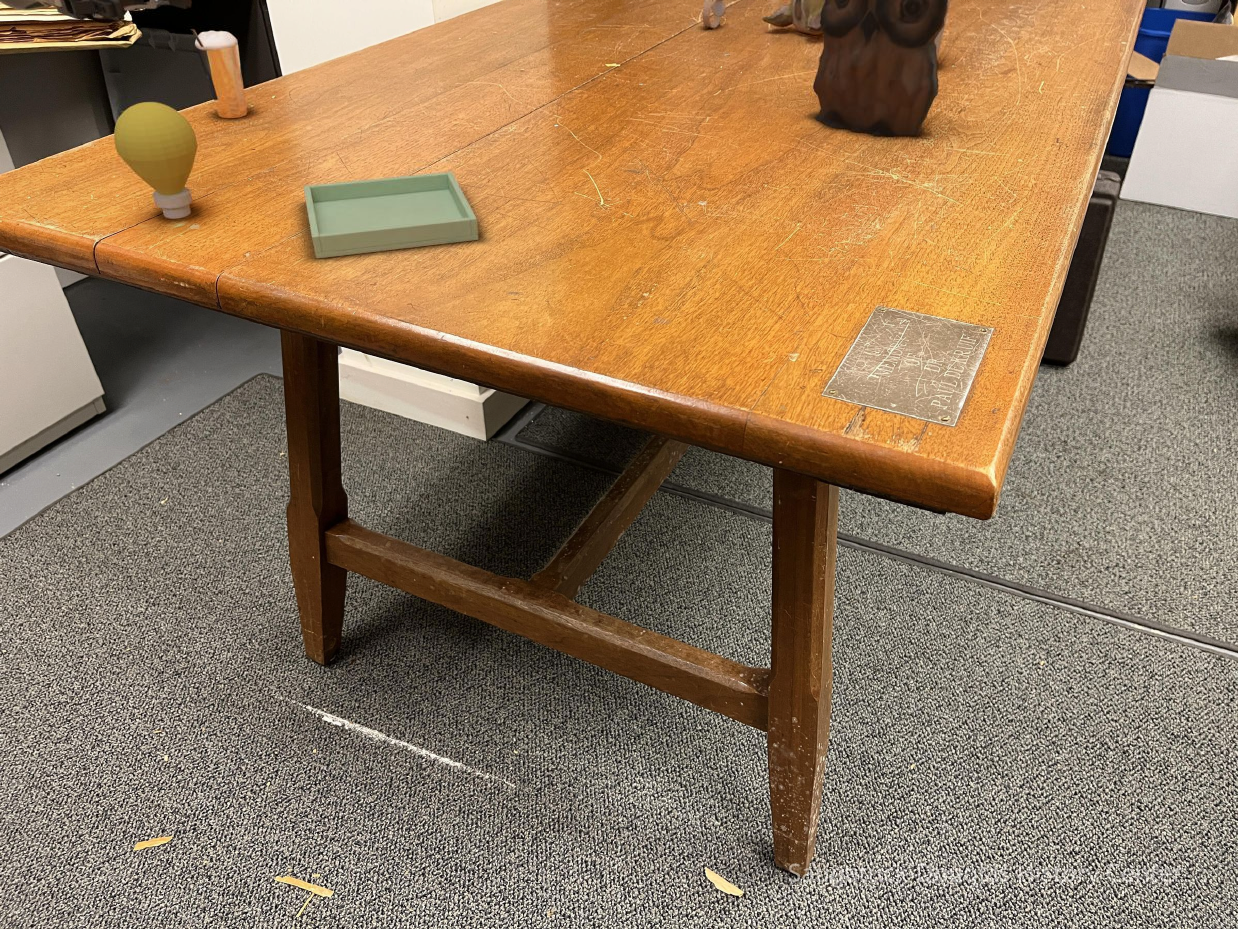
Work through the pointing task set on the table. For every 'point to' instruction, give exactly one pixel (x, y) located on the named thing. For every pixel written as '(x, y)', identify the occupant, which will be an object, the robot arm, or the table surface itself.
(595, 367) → the table surface
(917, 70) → the owl
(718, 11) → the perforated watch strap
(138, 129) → the light bulb
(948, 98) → the table surface
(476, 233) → the tray
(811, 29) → the ceramic sculpture
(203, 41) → the milkshake
